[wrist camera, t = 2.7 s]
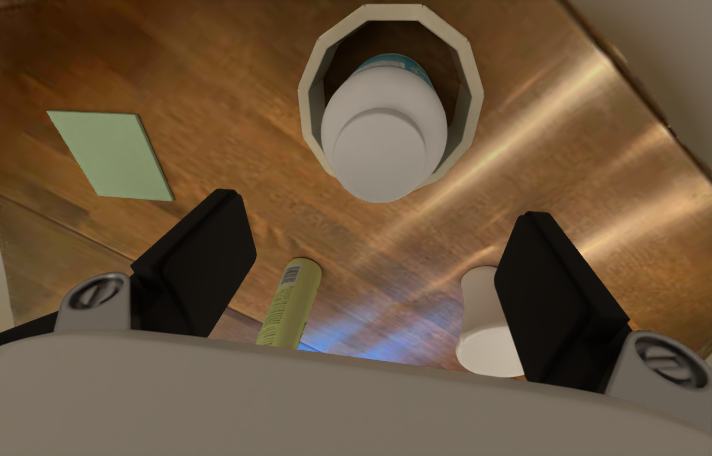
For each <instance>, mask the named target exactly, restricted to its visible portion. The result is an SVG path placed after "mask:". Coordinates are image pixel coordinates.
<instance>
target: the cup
mask: <svg viewBox="0 0 712 456" xmlns="http://www.w3.org/2000/svg"><path fill="white" fill-rule="evenodd" d="M496 270H497V268H495V267H492V266H481V267H476V268H473V269H471V270H469V271H468V272H467V273H466V274H465V275H464V276H463V277H462V280H461V287H462V293H463V299H464V316H463V321H462V332H461V334H460V337H459V340H458V342H457V346H456V355H457V358H458V360H459V362H460V363H461V364H462V365H463V366H464V367H465V368H466V369H468V370H470V371H472V372H474V373H477V374H481V375H488V376H495V377H514V376H521V375H525V374H524V371H523V368H522V365H521V363H520V360H519V357H518V354H517V351H516V348H515V345H514V342H513V339H512V336H511V333H510V330H509V327H508V324H507V322H506V319H505V316H504V313H503V310H502V307H501V304H500V301H499V298H498V295H497V292H496V289H495V286H494V275H495V273H496Z"/></svg>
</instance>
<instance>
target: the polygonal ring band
mask: <svg viewBox="0 0 712 456" xmlns="http://www.w3.org/2000/svg"><path fill="white" fill-rule="evenodd" d="M373 20H394V21H417V22H418V23H420V24H421V25H422V26H423V27H425V28H426V29H427V30H429V31H430V32H431V33H433V34H434V35H435V36H437V37H438V38H439V39H440V40H442V41H443V42H444V43H446V44H447V45H448V48H449V51H450V54H451V57H452V60H453V63H454V66H455V69H456V72H457V75H458V78H459V81H460V87H459V92H458V97H457V102H456V107H455V112H454V117H453V122H452V123H451V124H450V126H449V127H448V128H447V142H446V147H445V150H444V153H443V156H442V158H441V160H440V162H439V164H438V165H437V167H436V168H435V170H434V171H433V172H432V174H431V175H430V176H429V177H428V178H427V179H426V180H425V181H423V182H422V183H421V184H419V185H418V186H416V187H415V188H414V189H413V190H412V191H414V190H416V189H419V188H421V187H424V186H426V185H429V184H431V183H433V182H436V181H438V180H440V178H441V179H442V178H443V176H444V175H445V174H446V173H447V172H448V171H449V170H450V168H451V167H452V166H453V165H454V164H455V163H456V162H457V161H458V159H459V158H460V157H461V156H462V155H463V154H464V153H465V152H466V150H467V149H468V148H469V147H470V146H471V144H472V143H473V139H474V135H475V131H476V127H477V123H478V119H479V115H480V111H481V107H482V103H483V99H484V90H483V86H482V83H481V79H480V76H479V73H478V69H477V66H476V63H475V59H474V56H473V53H472V49H471V46H470V43H469V41H467V38H466V37H465V36H463V35H462V34H461V33H459V32H458V31H457V30H456V29H454V28H453V27H452V26H451V25H449V24H448V23H447V22H445V21H444V20H443V19H442V18H440V17H439V16H438V15H436V14H435V13H434V12H433V11H431V10H430V9H429V8H428V7H426V6H425V5H423V6H422V4H365V5H362V6H361V7H359V8H358V9H357V10H355V11H354V12H353V13H351V14H350V15H349V16H347V17H346V18H344V19H343V20H342V21H340V22H339V23H338V24H336V25H335V26H334V27H332V28H331V29H329V30H328V31H327V32H325V33H324V34H323V35H321V36H320V37H319V39H317V41H316V44H315V46H314V49H313V51H312V53H311V56H310V58H309V61H308V63H307V66H306V68H305V71H304V73H303V76H302V78H301V80H300V83H299V85H298V88H299V89H298V99H299V108H300V117H301V126H302V135H303V138H304V139H305V141H306V142H307V144H308V145H309V147H310V148H311V150H312V151H313V153H314V154H315V156H316V157H317V159H318V160H319V162H320V164H321V165H322V167H323V168H324V170H325V171H326V172H327V171H328V172H327V173H328V174H330V175H331V176H333V177H335V178H337V176H336V174H335V172H334V171H333V170H332V168H331V167H330V165H329V163H328V161H327V159H326V157H325V154H324V151H323V147H322V142H321V125H322V119H323V115H324V112H325V98H324V82H323V80H324V77H325V75H326V73H327V71H328V69H329V66H330V64H331V62H332V60H333V58H334V55H335V53H336V51H337V49H338V47H339V44H340V43H341V42H343V41H344V40H346V39H347V38H348V37H350V36H351V35H353V34H354V33H356V32H357V31H358V30H360V29H361V28H363V27H364V26H366V25H367V24H368V23H370V22H371V21H373ZM337 179H338V178H337Z"/></svg>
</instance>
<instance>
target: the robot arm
mask: <svg viewBox="0 0 712 456" xmlns="http://www.w3.org/2000/svg"><path fill="white" fill-rule="evenodd" d="M256 256H257V253H256V248H255V245H254V241H253V237H252V233H251V229H250V226H249V222H248V218H247V214H246V211H245V207H244V203H243V199H242V196H241V195H240V194H237V192H236V191H235V190H230V189H216V190H215V191H214V192H212V193H211V194H210V195H209V196H208V197H207V198H206V199H205V200H203V201H202V202H201V203H200V204H199V205H198V206H197V207H196V208H194V209H193V210H192V211H191V212H190V213H189V214H188V215H187V216H185V217H184V218H183V219H182V220H181V221H180V222H179V223H178V224H176V225H175V226H174V227H173V228H172V229H171V230H170V231H169V232H167V233H166V234H165V235H164V236H163V237H162V238H161V239H160V240H158V241H157V242H156V243H155V244H154V245H153V246H152V247H151V248H149V249H148V250H147V251H146V252H145V253H144V254H143V255H142V256H140V257H139V258H138V259H137V260H136V261H135V262H134V263H133V264H131V265H130V266H131V268H132V270H133V271H134V274H133V275H131V276H130V277H129V276H128V275H126V274H125V273H121V272H108V273H104V274H100V275H97V276H94V277H92V278H89V279H87V280H85V281H83V282H82V283H80V284H78V285H77V286H75V287H74V288H73V289H71V290H70V291H69V292H68V293H67V294H66V295H65V297H64V298H63V300H62V302H61V305H60V309H59V311H57V312H54V313H51V314H49V315H46V316H43V317H41V318H38V319H35V320H33V321H30V322H27V323H25V324H22V325H19V326H17V327H14V328H12V329H9V330H6V331H4V332H1V333H0V456H712V369H711V367H710V366H708V364H707V363H706V362H705V361H704V360H703V359H702V358H701V357H700V356H698V355H697V354H696V353H695V352H693V351H692V350H691V349H689V348H688V347H686V346H685V345H683V344H681V343H680V342H678V341H676V340H674V339H672V338H670V337H667V336H665V335H663V334H660V333H656V332H652V331H647V330H637V331H633V330H632V329H631V328H630V326H629V325H628V324H627V323H628V321H629V320H630V318H629V317H628V316H627V315H626V313H625V312H624V311H623V309H622V308H621V307H620V305H619V304H618V303H617V301H616V300H615V299H614V297H613V296H612V295H611V293H610V292H609V291H608V290H607V288H606V287H605V286H604V284H603V283H602V282H601V280H600V279H599V278H598V276H597V275H596V274H595V272H594V271H593V270H592V268H591V267H590V266H589V264H588V263H587V262H586V261H585V259H584V258H583V257H582V255H581V254H580V253H579V251H578V250H577V249H576V247H575V246H574V245H573V243H572V242H571V241H570V239H569V238H568V237H567V236H566V234H565V233H564V232H563V230H562V229H561V228H560V226H559V225H558V224H557V222H556V221H555V220H554V218H553V217H552V216H551V214H549V213H547V212H534V211H528V212H526V213H525V214H524V215H520V216H519V217H518V219H517V221H516V223H515V226H514V228H513V231H512V233H511V236H510V238H509V241H508V243H507V245H506V248H505V250H504V253H503V255H502V258H501V260H500V263H499V265H498V268H497V270H496V273H495V275H494V286H495V289H496V292H497V295H498V298H499V301H500V304H501V307H502V310H503V313H504V316H505V319H506V322H507V324H508V327H509V330H510V333H511V336H512V339H513V342H514V345H515V348H516V351H517V354H518V357H519V360H520V363H521V365H522V368H523V371H524V374H525V377H526V379H527V380H528V381H529V382H528V381H522V380H515V379H509V378H502V377H495V376H488V375H481V374H474V373H466V372H459V371H452V370H445V369H438V368H430V367H423V366H416V365H409V364H402V363H394V362H387V361H379V360H372V359H364V358H357V357H350V356H342V355H335V354H327V353H320V352H312V351H304V350H297V349H289V348H282V347H274V346H266V345H258V344H251V343H243V342H235V341H227V340H219V339H211V338H207V337H208V336H209V334H210V333H211V331H212V330H213V328H214V327H215V325H216V323H217V322H218V320H219V318H220V317H221V315H222V314H223V312H224V310H225V309H226V307H227V306H228V304H229V302H230V301H231V299H232V298H233V296H234V294H235V293H236V291H237V290H238V288H239V286H240V285H241V283H242V282H243V280H244V278H245V277H246V275H247V274H248V272H249V270H250V269H251V267H252V266H253V264H254V262H255V260H256Z"/></svg>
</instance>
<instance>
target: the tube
mask: <svg viewBox="0 0 712 456" xmlns="http://www.w3.org/2000/svg"><path fill="white" fill-rule="evenodd" d="M321 277H322V271H321V268H320V267H319V266H318V264H316V263H315V262H314V261H312V260H310V259H306V258H295V259H293V260H291V261H290V262H289V263H288V264H287V266H286V269H285V271H284V273H283V276H282V278H281V281H280V283H279V285H278V288H277V290H276V293H275V295H274V297H273V300H272V302H271V305H270V307H269V310H268V312H267V315H266V318H265V320H264V323H263V325H262V328H261V331H260V333H259V336H258V339H257V341H256V344H258V345H266V346H274V347H282V348H289V349H297V348H298V345H299V342H300V339H301V336H302V334H303V331H304V328H305V325H306V322H307V319H308V317H309V314H310V311H311V308H312V305H313V302H314V299H315V296H316V293H317V290H318V287H319V284H320V281H321Z"/></svg>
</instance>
